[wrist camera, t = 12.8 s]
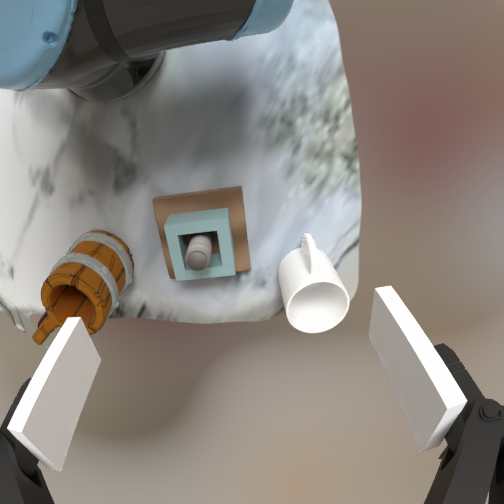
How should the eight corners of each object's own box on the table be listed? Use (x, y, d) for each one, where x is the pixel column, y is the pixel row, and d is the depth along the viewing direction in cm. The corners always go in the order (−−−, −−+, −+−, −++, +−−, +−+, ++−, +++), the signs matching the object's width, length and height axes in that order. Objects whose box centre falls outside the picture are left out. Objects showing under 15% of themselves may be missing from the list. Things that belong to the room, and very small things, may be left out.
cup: (279, 295, 51) (287, 337, 42) (272, 225, 45) (281, 257, 36) (329, 288, 51) (347, 328, 41) (329, 218, 45) (351, 248, 36)
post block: (155, 197, 43) (137, 220, 35) (241, 186, 43) (242, 206, 35) (171, 273, 48) (160, 307, 40) (250, 264, 48) (253, 299, 40)
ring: (169, 214, 42) (163, 225, 39) (228, 207, 42) (227, 217, 39) (180, 266, 46) (176, 281, 42) (235, 261, 46) (235, 275, 42)
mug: (150, 266, 47) (123, 329, 34) (88, 313, 51) (56, 372, 37) (104, 213, 43) (57, 260, 30) (47, 269, 47) (3, 321, 33)
